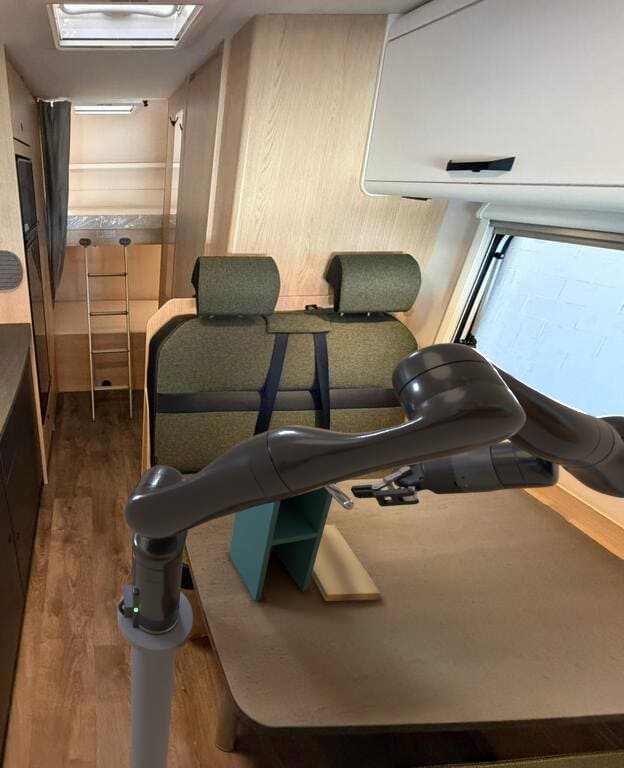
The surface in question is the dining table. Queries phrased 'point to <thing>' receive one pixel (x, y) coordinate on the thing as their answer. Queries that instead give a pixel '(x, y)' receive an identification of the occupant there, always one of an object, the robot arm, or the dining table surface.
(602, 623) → the dining table surface
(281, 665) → the dining table surface
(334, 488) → the metal spatula
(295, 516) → the shelf
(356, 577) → the cutting board
